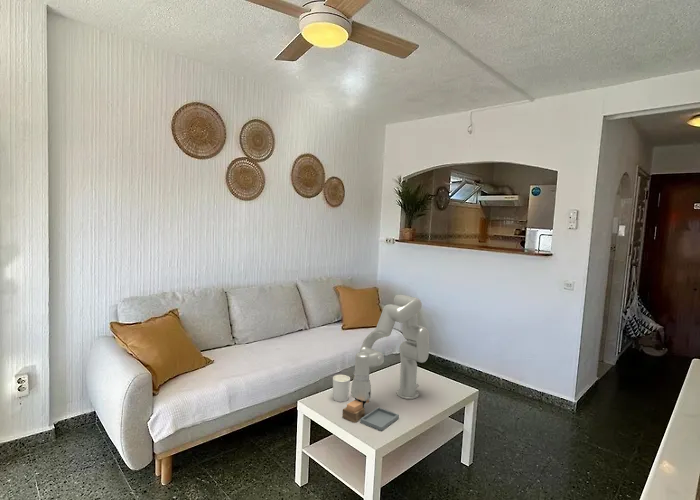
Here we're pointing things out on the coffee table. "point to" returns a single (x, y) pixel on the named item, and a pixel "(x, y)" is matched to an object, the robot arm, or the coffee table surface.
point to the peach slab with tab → (354, 406)
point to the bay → (353, 415)
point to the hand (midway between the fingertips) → (360, 410)
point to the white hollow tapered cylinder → (341, 388)
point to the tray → (379, 418)
